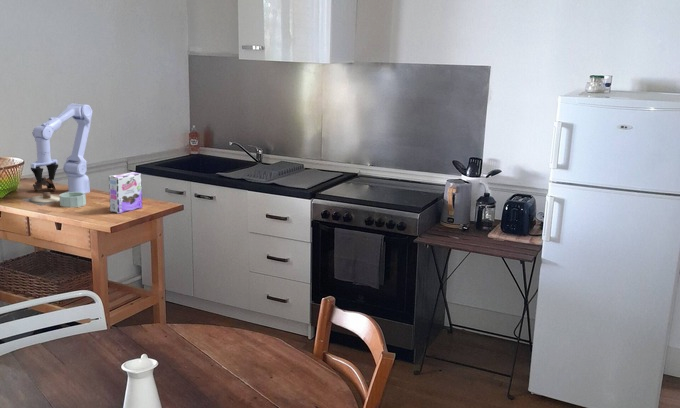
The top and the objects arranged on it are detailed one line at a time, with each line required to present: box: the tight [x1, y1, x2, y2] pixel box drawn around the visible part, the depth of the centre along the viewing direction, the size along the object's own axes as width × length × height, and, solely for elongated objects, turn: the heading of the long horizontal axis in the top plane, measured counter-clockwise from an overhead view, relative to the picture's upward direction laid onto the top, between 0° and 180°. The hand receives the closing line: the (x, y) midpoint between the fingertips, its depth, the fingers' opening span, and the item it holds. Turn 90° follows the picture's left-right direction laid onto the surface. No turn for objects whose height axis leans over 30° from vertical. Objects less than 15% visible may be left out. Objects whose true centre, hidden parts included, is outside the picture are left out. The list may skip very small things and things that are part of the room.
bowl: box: [58, 191, 87, 209], centre depth 291 cm, size 11×11×5 cm
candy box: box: [108, 171, 143, 214], centre depth 286 cm, size 14×6×16 cm, turn 148°
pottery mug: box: [32, 176, 57, 193], centre depth 315 cm, size 12×10×8 cm
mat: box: [21, 193, 60, 206], centre depth 298 cm, size 16×16×1 cm
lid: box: [29, 191, 60, 204], centre depth 298 cm, size 14×14×3 cm
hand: (45, 181), depth 296 cm, fingers open, 7 cm apart
